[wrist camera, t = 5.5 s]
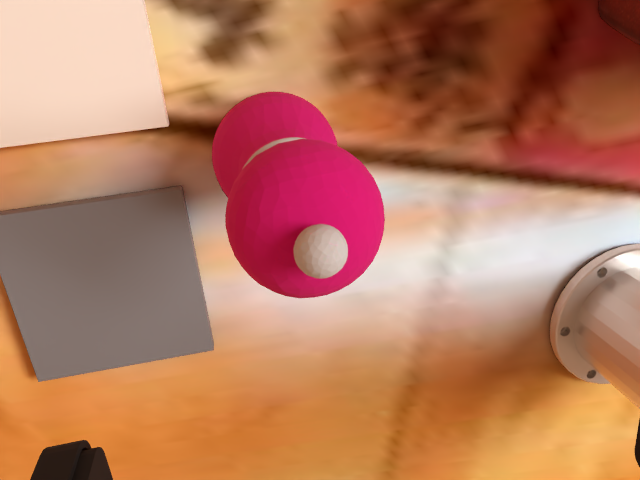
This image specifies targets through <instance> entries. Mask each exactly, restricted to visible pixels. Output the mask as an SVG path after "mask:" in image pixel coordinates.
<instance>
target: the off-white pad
mask: <svg viewBox="0 0 640 480" xmlns="http://www.w3.org/2000/svg"><path fill="white" fill-rule="evenodd" d="M168 126H169V119H168V114H167V110H166V105H165V100H164V95H163V90H162V85H161V80H160V75H159V70H158V65H157V60H156V55H155V50H154V45H153V40H152V35H151V30H150V26H149V21H148V16H147V11H146V6H145V1H144V0H0V148H3V147H11V146H19V145H27V144H34V143H42V142H50V141H58V140H66V139H74V138H81V137H89V136H97V135H105V134H113V133H121V132H129V131H136V130H144V129H152V128H160V127H168Z"/></svg>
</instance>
